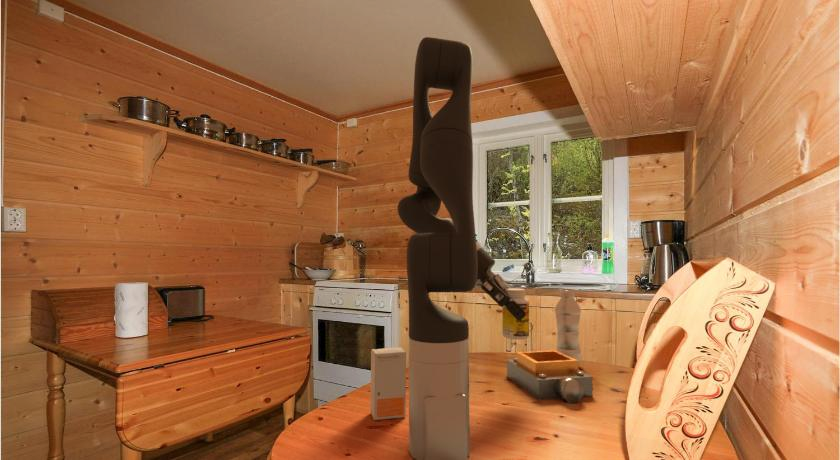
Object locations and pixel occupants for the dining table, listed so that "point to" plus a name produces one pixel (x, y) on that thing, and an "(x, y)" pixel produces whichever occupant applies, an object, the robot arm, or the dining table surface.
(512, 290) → the supplement bottle
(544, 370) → the gearbox housing
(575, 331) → the plastic bottle
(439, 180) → the robot arm
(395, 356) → the skincare box
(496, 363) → the dining table surface
